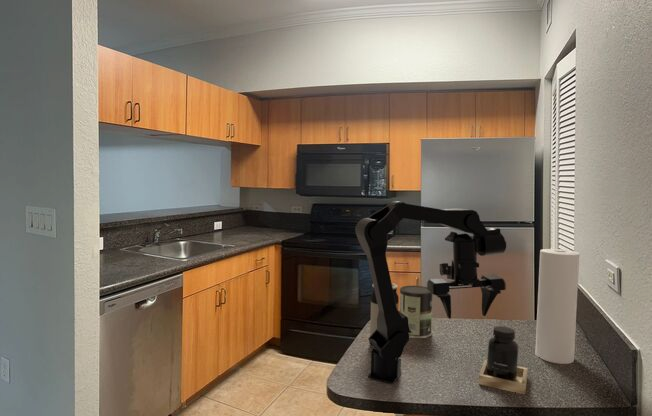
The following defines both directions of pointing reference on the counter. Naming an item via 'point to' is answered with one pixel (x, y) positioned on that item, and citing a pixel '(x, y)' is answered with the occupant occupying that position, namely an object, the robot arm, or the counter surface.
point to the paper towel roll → (557, 305)
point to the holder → (504, 384)
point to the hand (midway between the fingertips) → (466, 316)
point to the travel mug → (375, 309)
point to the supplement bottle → (502, 354)
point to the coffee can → (417, 310)
